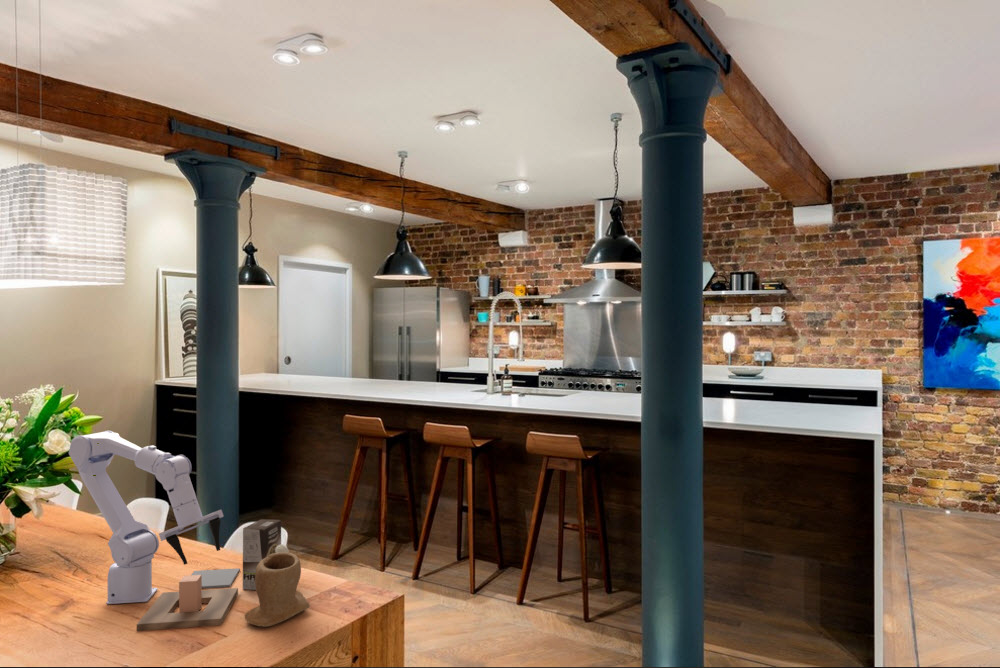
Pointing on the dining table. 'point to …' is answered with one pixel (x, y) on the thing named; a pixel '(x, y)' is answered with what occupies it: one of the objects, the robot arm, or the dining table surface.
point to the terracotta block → (190, 593)
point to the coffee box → (258, 547)
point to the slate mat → (217, 577)
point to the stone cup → (277, 590)
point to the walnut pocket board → (168, 601)
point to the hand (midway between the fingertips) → (202, 557)
